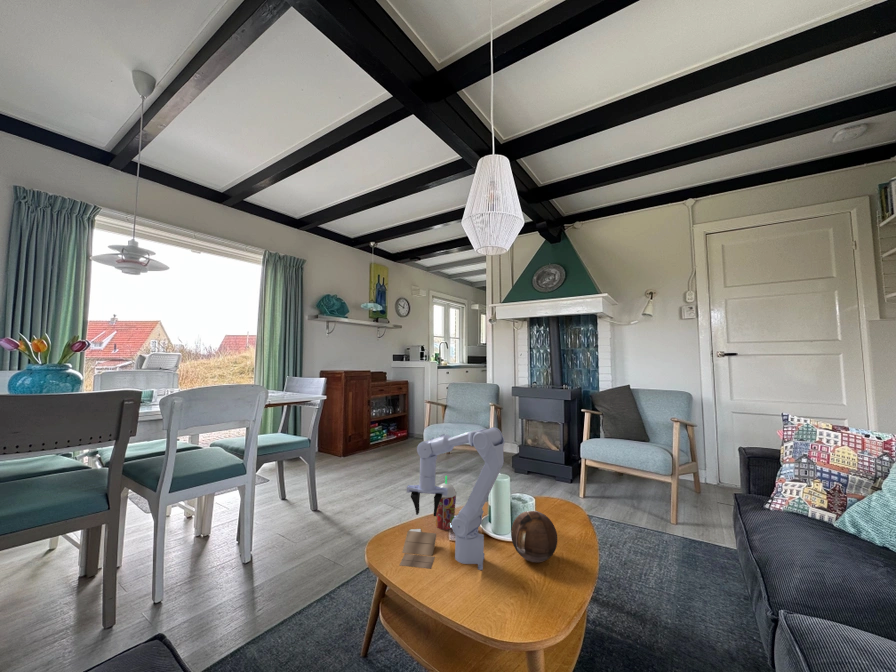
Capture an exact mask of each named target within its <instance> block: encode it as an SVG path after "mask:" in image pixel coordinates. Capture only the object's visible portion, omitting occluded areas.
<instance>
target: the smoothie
mask: <svg viewBox="0 0 896 672" xmlns="http://www.w3.org/2000/svg"><path fill="white" fill-rule="evenodd" d="M444 477H445V479H444V480H445V481H444V482H443V483H441V484H439V485H438V486H437V487H442V488H448V494H447V496H444V495H442V498H441V500H440V502H439V505H438V508H437V514H436V516H435V527H436V528H437V529H440V530H442V531H444V530H445V531H446V530H451V529H450V523H452V520H453V518H454V517H455V515H456V514H455V513H456V512H455V511H456V501H457V500H456V499H457V492H456V489H455V487H454V485H452V484H451V483H449V482H448V476H447V475H445V476H444Z"/></svg>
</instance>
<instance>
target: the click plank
mask: <svg viewBox="0 0 896 672" xmlns="http://www.w3.org/2000/svg"><path fill="white" fill-rule="evenodd" d="M436 539H437V533H435V532H434V533H433V532H425V531H421V532H415V531H410V530H408V531H407V533H406V537H405V541H404V544H403V547H402V552H401V553H402V554H413V555H423V556H434V555H433V554H434V551H435V545H436Z"/></svg>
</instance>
